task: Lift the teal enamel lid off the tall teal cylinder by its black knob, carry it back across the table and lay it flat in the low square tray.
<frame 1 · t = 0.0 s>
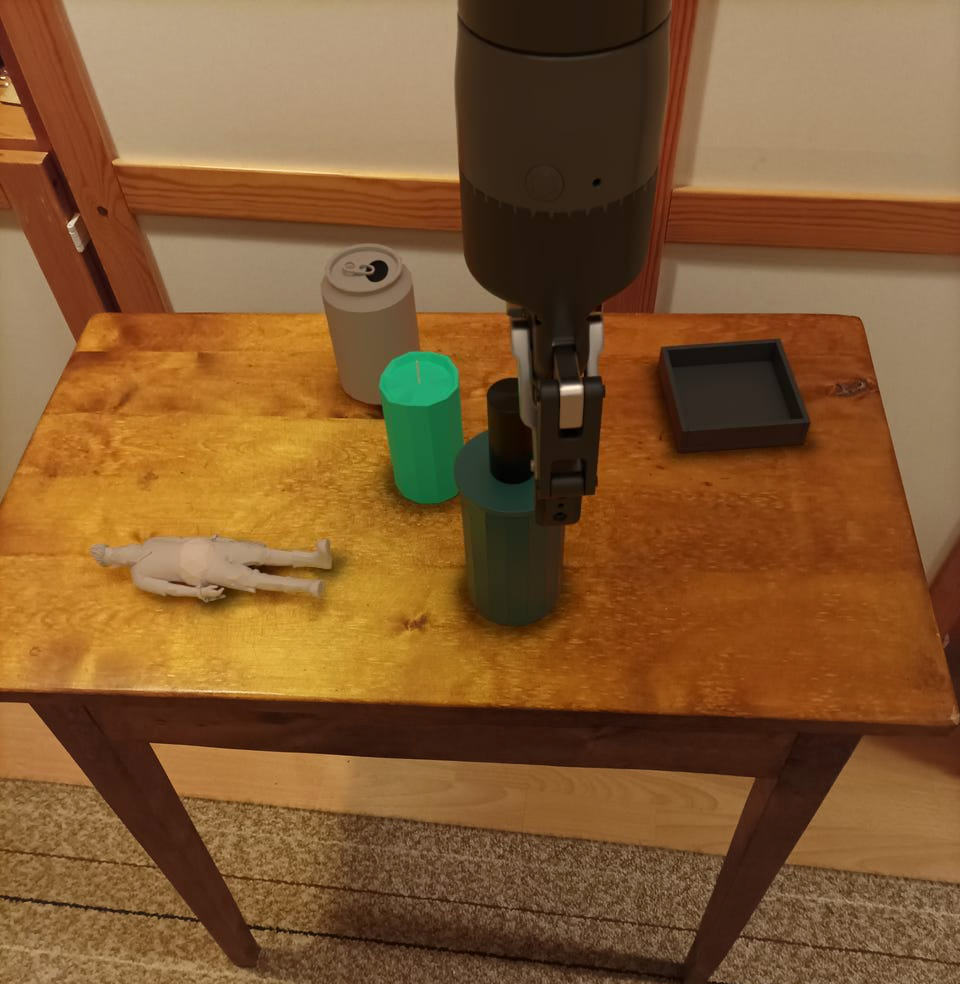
hand: (548, 457, 47), 21 cm above the table, tool pointing down, fingers open, 8 cm apart
can: (383, 384, 82), on the table
pan lid: (513, 472, 58), point 12 cm above the table, touching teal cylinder
figurine: (218, 582, 71), on the table
candle: (431, 478, 76), on the table
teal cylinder: (514, 588, 69), on the table
square tray: (727, 405, 79), on the table
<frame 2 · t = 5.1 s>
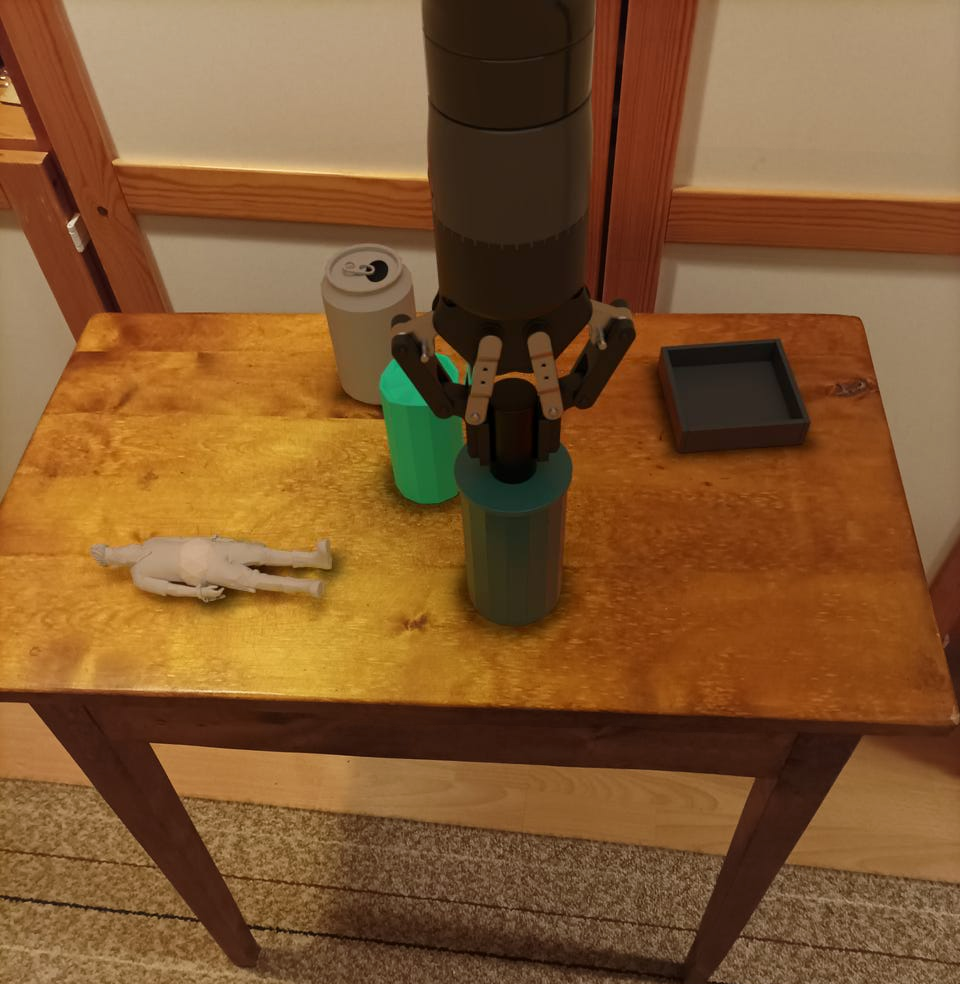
hand: (513, 453, 57), 14 cm above the table, tool pointing down, fingers closed on pan lid, 3 cm apart
pan lid: (513, 472, 58), point 13 cm above the table, touching gripper, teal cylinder
everything else where it was.
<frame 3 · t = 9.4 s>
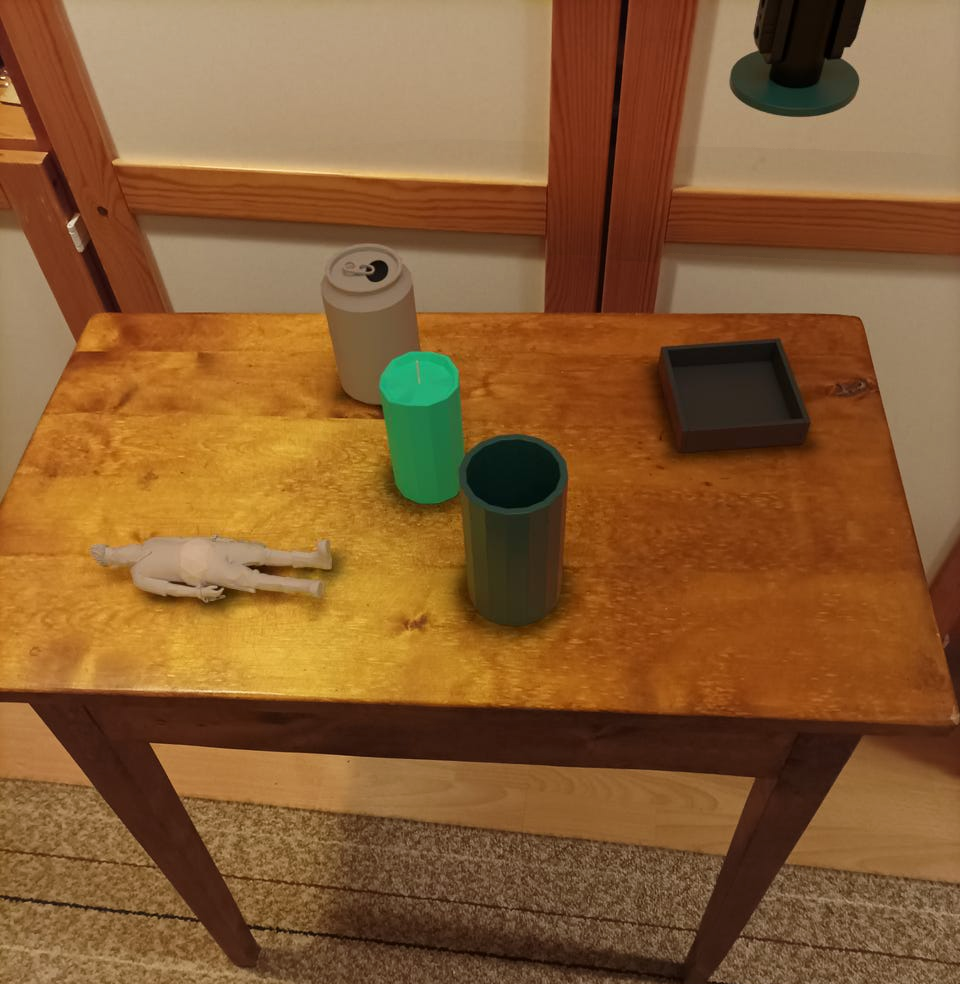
hand: (800, 54, 54), 29 cm above the table, tool pointing down, fingers closed on pan lid, 3 cm apart
pan lid: (792, 84, 55), point 27 cm above the table, touching gripper
everything else where it was.
when the fingers open (3 cm above the table, at t = 14.0 s): pan lid stays where it is, resting on square tray.
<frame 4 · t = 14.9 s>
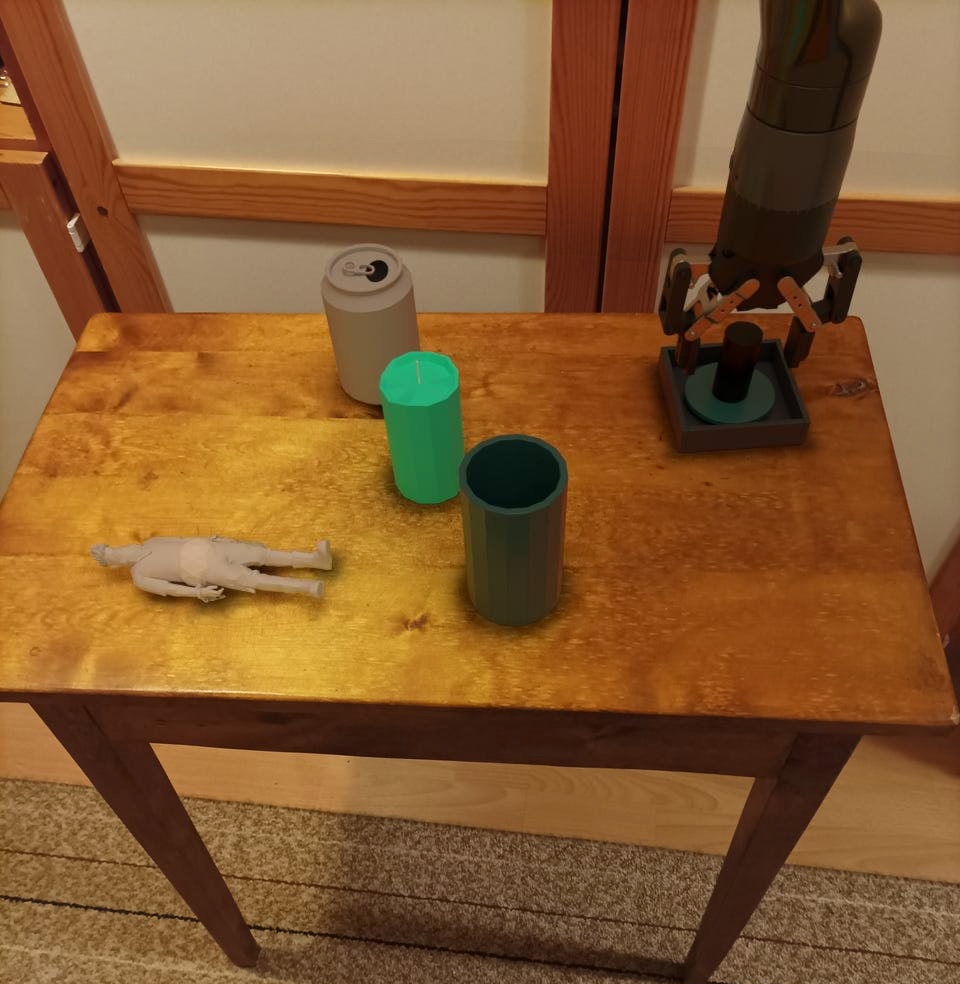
hand: (738, 365, 75), 4 cm above the table, tool pointing down, fingers open, 8 cm apart
pan lid: (728, 395, 78), point 1 cm above the table, touching square tray
everything else where it was.
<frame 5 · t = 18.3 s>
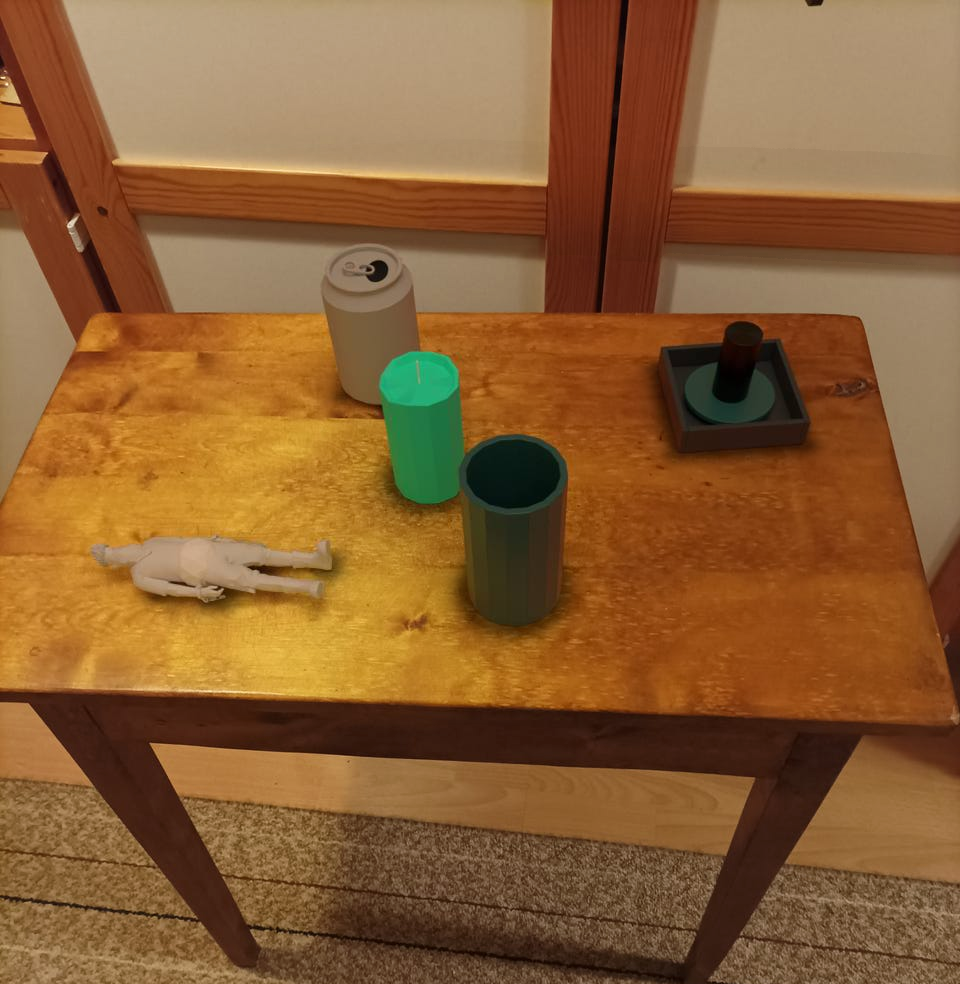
nothing on the table moved.
at the end: pan lid inside the target area in the square tray (0.1 cm from its centre), point 1.1 cm above the square tray's base; pan lid tilted 0°; the gripper is holding nothing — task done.
